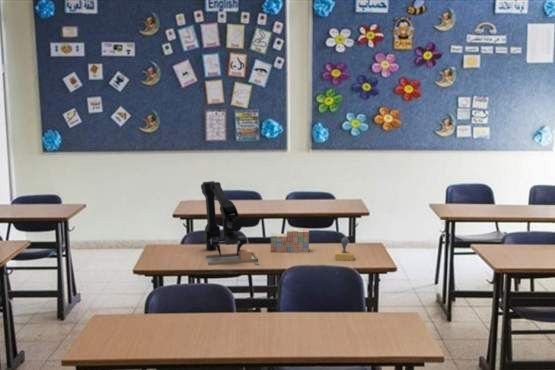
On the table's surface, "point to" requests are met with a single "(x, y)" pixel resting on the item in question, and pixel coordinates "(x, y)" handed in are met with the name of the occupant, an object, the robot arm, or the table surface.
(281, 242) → the stack of blocks
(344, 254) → the rubber stamp
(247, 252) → the terracotta block
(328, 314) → the table surface
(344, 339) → the table surface
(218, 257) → the box
